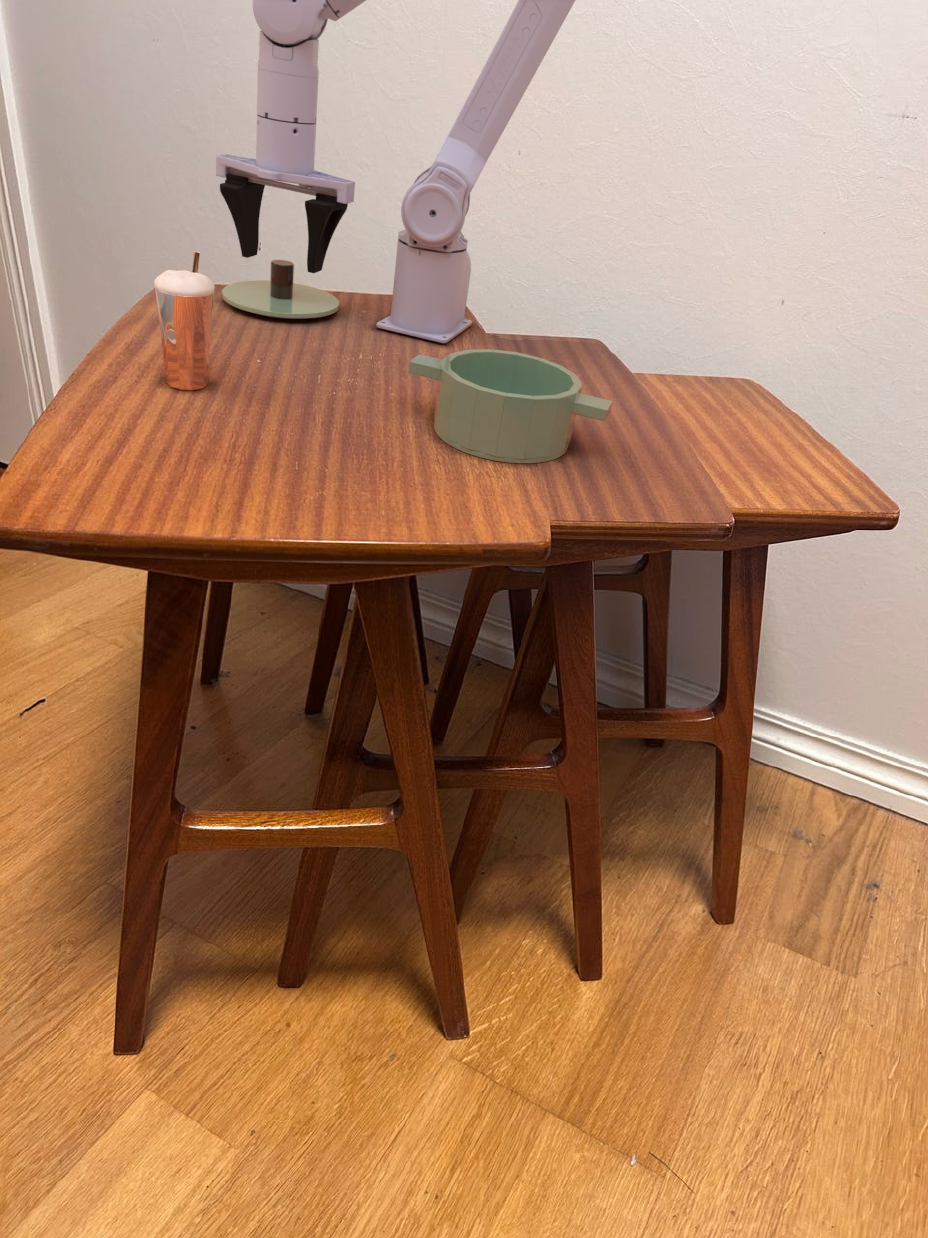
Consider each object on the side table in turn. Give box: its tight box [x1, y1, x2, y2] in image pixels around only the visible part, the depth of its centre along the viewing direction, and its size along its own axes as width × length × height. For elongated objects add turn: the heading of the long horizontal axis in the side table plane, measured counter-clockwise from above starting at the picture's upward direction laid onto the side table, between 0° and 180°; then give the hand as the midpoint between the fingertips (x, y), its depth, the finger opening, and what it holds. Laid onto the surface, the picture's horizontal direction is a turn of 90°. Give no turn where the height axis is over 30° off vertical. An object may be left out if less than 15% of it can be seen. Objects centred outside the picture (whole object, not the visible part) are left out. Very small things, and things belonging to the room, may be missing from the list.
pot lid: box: [221, 259, 340, 320], centre depth 98 cm, size 12×12×5 cm
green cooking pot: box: [407, 348, 613, 464], centre depth 76 cm, size 11×17×5 cm
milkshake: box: [153, 251, 216, 391], centre depth 75 cm, size 4×5×10 cm
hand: (281, 263), depth 97 cm, fingers open, 7 cm apart
